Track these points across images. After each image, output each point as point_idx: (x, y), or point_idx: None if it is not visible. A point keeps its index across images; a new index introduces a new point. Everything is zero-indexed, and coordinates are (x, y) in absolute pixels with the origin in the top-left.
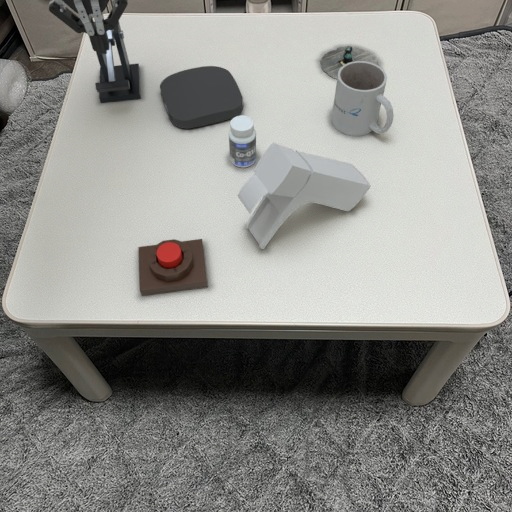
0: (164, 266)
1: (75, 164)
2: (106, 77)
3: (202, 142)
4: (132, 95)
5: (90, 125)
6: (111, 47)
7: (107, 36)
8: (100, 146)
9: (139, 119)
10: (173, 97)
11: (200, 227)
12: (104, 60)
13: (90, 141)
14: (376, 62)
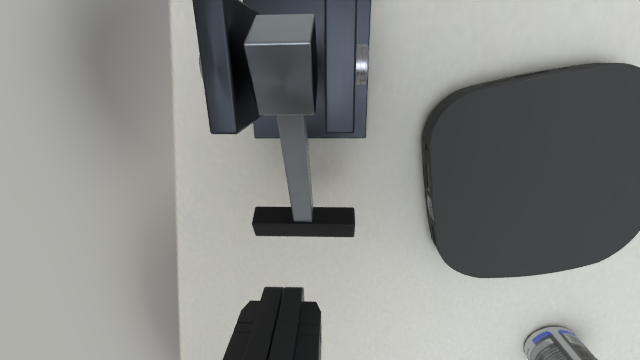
0: None
1: (228, 305)
2: None
3: (483, 294)
4: (344, 137)
5: (243, 209)
6: (304, 122)
7: (319, 354)
8: (272, 271)
9: (356, 208)
10: (461, 204)
11: None
12: None
13: (249, 255)
14: None
